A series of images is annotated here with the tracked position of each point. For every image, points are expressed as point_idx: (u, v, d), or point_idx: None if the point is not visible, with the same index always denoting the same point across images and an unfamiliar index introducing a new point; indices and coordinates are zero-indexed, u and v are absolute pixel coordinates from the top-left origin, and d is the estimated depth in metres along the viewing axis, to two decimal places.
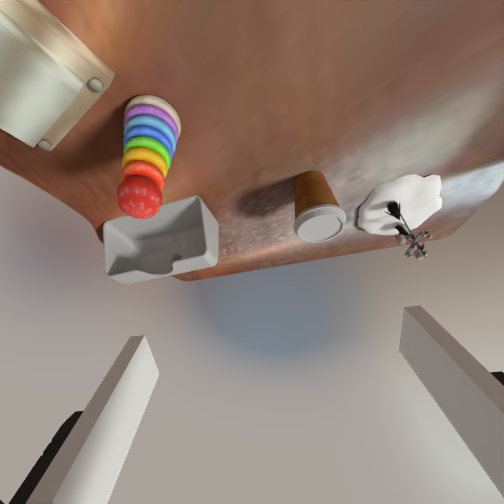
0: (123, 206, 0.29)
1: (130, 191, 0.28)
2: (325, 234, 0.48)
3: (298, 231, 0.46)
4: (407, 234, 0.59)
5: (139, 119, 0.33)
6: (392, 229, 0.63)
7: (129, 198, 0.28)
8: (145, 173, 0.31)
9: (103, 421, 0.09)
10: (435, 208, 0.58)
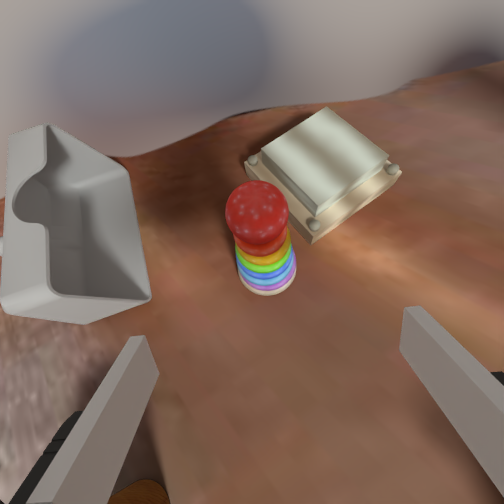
0: (265, 183, 0.19)
1: (285, 202, 0.19)
2: None
3: None
4: None
5: None
6: None
7: (279, 196, 0.19)
8: None
9: (103, 421, 0.09)
10: None
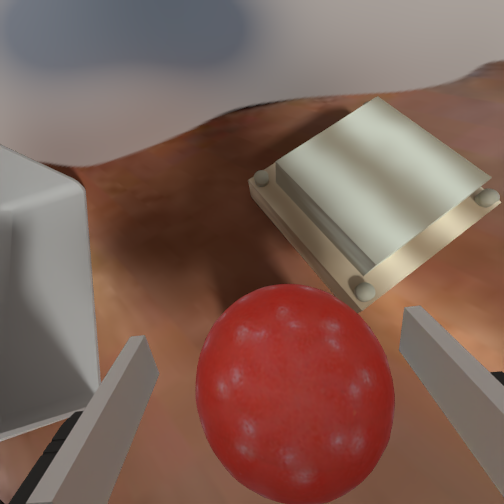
0: (329, 320, 0.06)
1: (391, 378, 0.06)
2: None
3: None
4: None
5: None
6: None
7: (378, 372, 0.05)
8: None
9: (103, 421, 0.09)
10: None
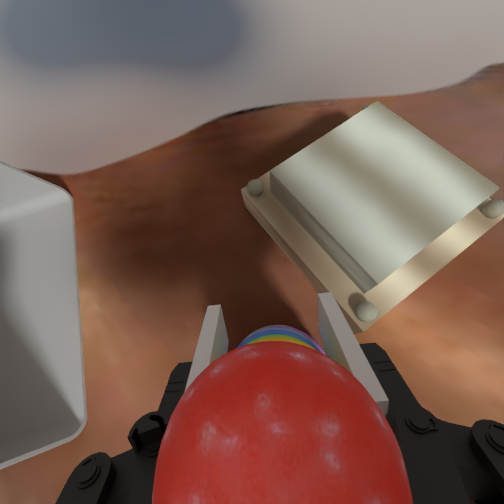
0: (326, 416, 0.04)
1: (408, 489, 0.04)
2: None
3: None
4: None
5: None
6: None
7: (394, 493, 0.04)
8: None
9: None
10: None
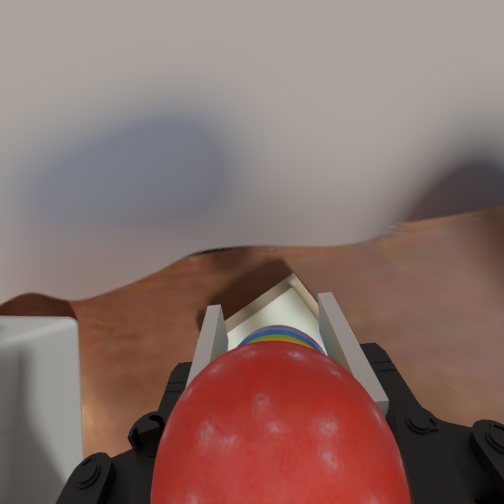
0: (324, 415, 0.04)
1: (407, 488, 0.04)
2: None
3: None
4: None
5: None
6: None
7: (392, 493, 0.04)
8: None
9: None
10: None
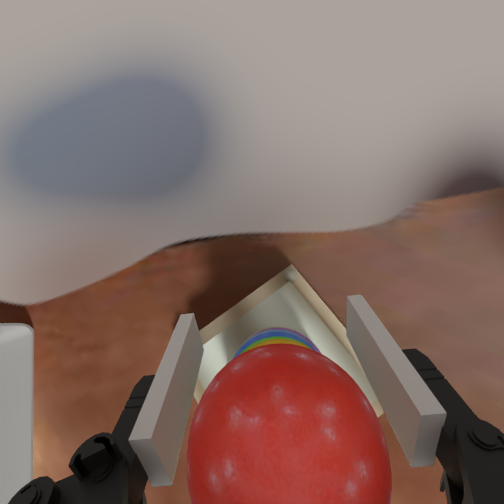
0: (325, 401, 0.05)
1: (388, 458, 0.06)
2: None
3: None
4: None
5: None
6: None
7: (375, 459, 0.05)
8: None
9: (174, 381, 0.10)
10: None
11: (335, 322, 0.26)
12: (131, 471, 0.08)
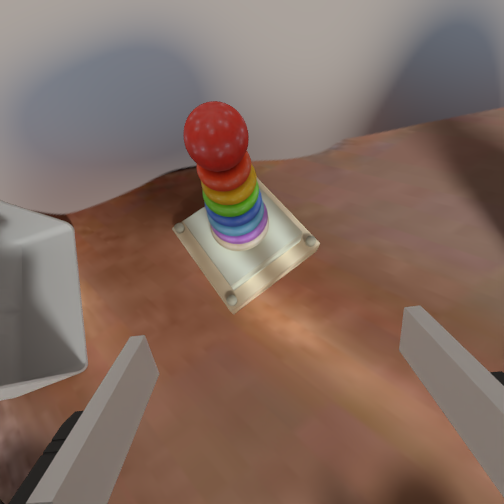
0: (223, 103, 0.19)
1: (243, 123, 0.19)
2: None
3: None
4: None
5: (262, 202, 0.30)
6: None
7: (236, 115, 0.19)
8: (240, 165, 0.22)
9: (103, 421, 0.09)
10: None
11: (281, 206, 0.40)
12: None
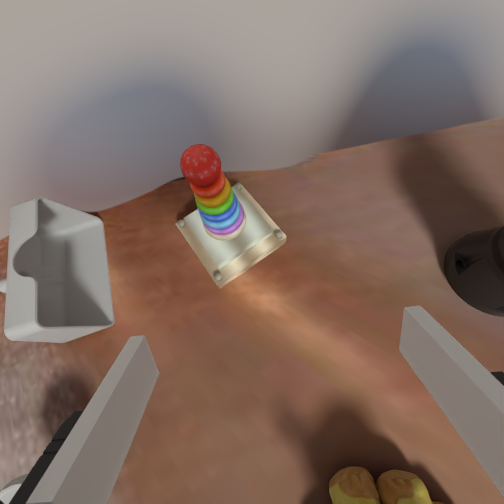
0: (204, 145, 0.31)
1: (216, 157, 0.31)
2: None
3: (19, 485, 0.30)
4: None
5: (239, 205, 0.42)
6: None
7: (211, 153, 0.31)
8: (217, 181, 0.34)
9: (103, 421, 0.09)
10: None
11: (259, 207, 0.52)
12: None
